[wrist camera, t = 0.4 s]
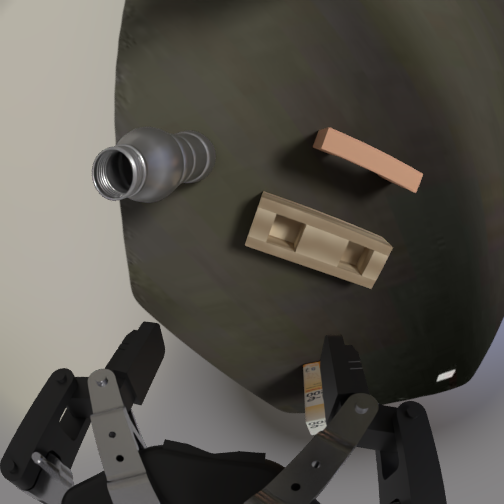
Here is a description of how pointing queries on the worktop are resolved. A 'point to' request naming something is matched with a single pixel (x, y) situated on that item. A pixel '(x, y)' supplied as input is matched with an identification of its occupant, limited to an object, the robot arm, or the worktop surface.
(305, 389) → the supplement box
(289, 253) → the rail
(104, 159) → the metal bottle
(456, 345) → the worktop surface
